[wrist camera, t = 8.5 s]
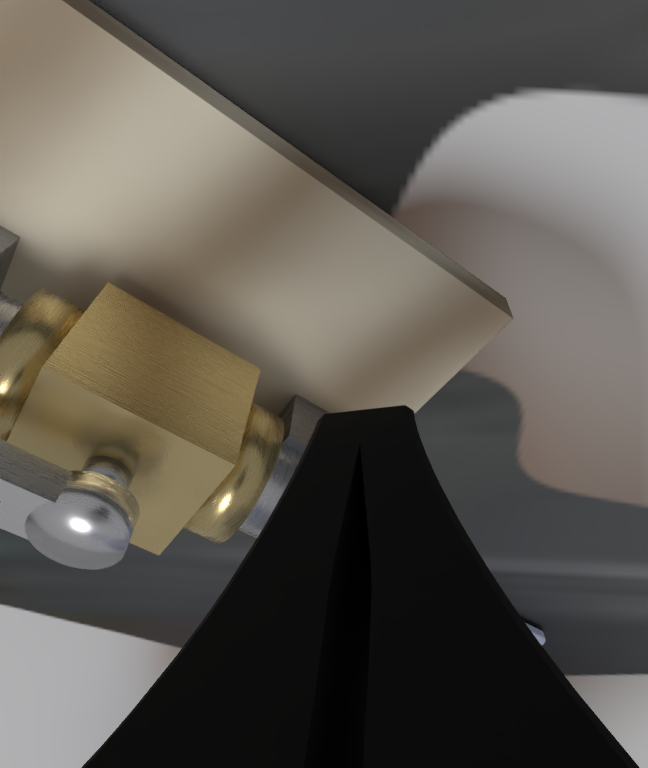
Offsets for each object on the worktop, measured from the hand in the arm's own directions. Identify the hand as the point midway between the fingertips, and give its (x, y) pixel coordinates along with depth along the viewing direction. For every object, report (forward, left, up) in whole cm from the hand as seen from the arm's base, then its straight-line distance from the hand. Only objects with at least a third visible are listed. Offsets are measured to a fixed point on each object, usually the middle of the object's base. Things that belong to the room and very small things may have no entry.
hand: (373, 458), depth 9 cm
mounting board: (+3, +6, -9) cm, 12 cm away
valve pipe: (+3, +7, -8) cm, 11 cm away
